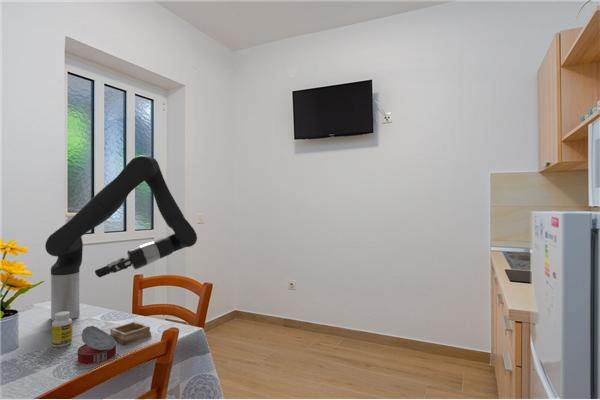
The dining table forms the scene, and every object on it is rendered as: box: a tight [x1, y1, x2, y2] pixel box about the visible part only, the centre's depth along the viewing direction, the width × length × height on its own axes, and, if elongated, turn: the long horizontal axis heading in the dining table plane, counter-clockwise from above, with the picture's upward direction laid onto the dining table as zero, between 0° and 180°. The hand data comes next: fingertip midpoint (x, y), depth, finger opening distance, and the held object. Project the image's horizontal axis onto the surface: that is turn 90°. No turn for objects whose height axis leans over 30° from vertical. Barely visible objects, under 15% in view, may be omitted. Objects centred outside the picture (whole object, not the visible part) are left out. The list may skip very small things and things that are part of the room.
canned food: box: [77, 325, 117, 365], centre depth 105 cm, size 11×10×10 cm
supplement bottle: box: [51, 311, 73, 348], centre depth 113 cm, size 5×5×10 cm
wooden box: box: [109, 320, 152, 346], centre depth 118 cm, size 9×9×3 cm
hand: (96, 274), depth 122 cm, fingers open, 8 cm apart
